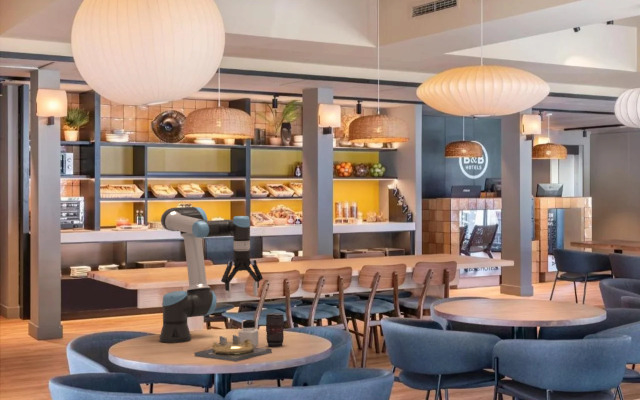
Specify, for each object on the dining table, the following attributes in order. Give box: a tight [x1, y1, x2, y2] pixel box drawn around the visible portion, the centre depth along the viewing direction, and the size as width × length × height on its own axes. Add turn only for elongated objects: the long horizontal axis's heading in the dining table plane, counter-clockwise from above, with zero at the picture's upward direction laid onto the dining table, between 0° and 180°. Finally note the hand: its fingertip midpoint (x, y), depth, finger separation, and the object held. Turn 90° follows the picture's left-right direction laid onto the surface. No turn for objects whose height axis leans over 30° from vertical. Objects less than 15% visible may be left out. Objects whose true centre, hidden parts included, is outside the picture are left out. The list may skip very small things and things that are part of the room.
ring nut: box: [212, 334, 254, 354], centre depth 405 cm, size 18×18×5 cm
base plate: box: [194, 346, 273, 362], centre depth 405 cm, size 24×24×2 cm
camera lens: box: [265, 312, 285, 348], centre depth 424 cm, size 8×8×15 cm
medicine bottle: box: [238, 319, 259, 347], centre depth 426 cm, size 7×7×12 cm
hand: (242, 296), depth 418 cm, fingers open, 13 cm apart
